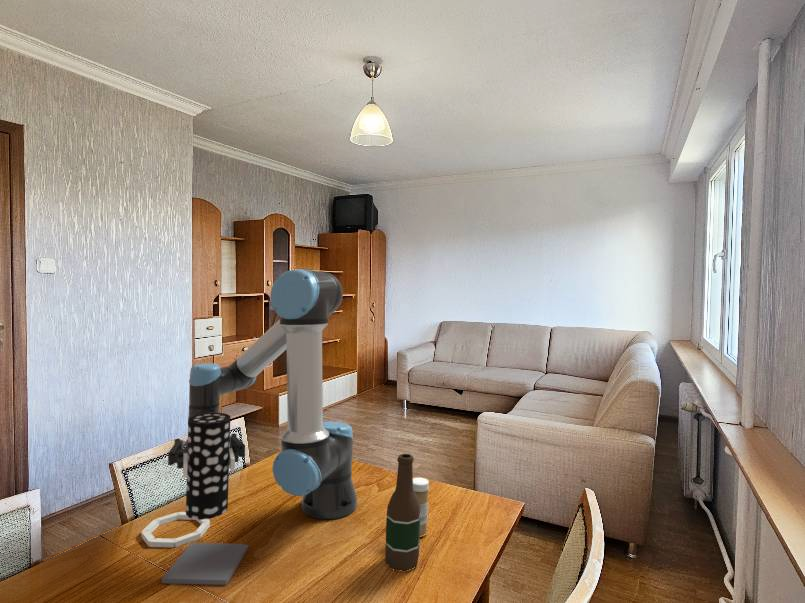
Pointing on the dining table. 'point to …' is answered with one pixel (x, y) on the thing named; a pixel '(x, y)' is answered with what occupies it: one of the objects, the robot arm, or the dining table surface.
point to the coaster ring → (176, 542)
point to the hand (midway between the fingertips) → (209, 467)
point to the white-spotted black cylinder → (208, 465)
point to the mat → (206, 564)
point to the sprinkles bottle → (422, 501)
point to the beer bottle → (403, 520)
